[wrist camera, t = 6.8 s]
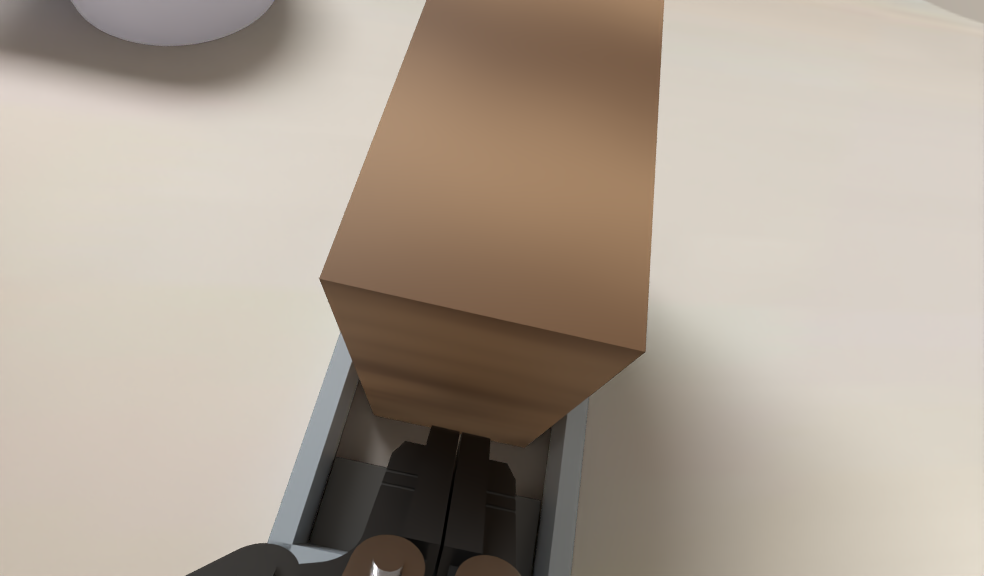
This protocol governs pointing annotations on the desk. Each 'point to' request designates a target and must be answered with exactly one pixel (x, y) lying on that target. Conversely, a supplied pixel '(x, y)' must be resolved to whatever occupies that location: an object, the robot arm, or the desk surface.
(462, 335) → the walnut block
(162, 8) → the wedge on round base
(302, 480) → the grey open-top box
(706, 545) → the desk surface
